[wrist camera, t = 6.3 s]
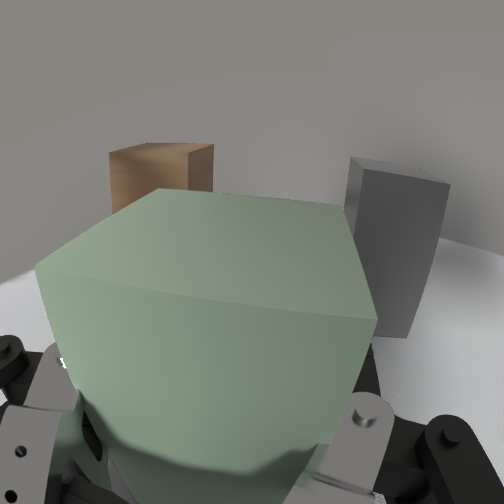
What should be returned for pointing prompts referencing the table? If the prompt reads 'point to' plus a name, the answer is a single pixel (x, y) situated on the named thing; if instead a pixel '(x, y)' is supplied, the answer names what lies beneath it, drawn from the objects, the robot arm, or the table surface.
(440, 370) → the table surface
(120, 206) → the walnut block
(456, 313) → the table surface
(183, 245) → the sage block
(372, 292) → the charcoal block
